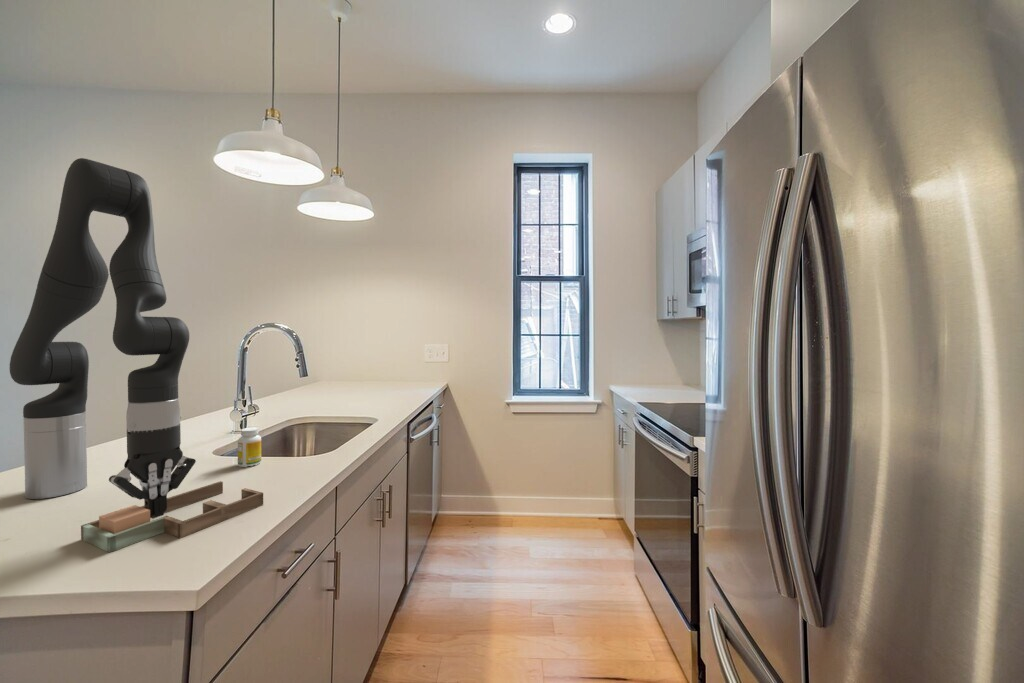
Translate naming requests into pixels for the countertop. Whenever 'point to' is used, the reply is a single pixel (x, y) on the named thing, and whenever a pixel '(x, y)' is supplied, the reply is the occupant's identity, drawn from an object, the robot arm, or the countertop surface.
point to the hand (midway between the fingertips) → (155, 516)
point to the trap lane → (178, 528)
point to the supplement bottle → (249, 447)
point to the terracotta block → (124, 519)
